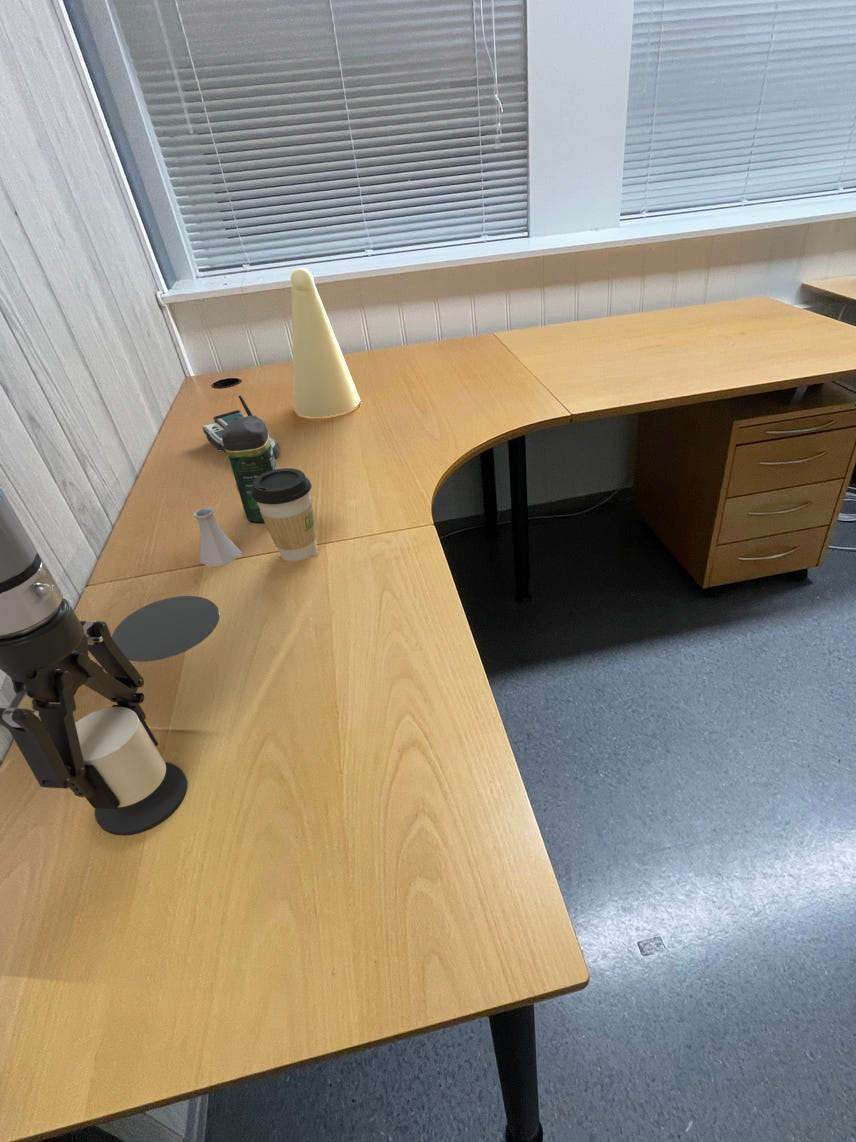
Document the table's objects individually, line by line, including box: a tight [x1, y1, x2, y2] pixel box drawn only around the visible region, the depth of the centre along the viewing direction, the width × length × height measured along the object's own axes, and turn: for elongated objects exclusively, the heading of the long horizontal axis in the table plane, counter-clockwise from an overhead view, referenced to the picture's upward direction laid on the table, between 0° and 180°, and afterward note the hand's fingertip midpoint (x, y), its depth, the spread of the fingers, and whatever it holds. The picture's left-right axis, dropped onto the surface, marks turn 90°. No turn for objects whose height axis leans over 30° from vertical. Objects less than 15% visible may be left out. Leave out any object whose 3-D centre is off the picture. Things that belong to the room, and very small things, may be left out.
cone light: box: [290, 267, 361, 417], centre depth 157 cm, size 25×18×35 cm
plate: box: [111, 595, 221, 662], centre depth 97 cm, size 16×16×1 cm
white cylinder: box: [75, 706, 166, 807], centre depth 68 cm, size 8×8×8 cm
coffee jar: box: [221, 415, 278, 524], centre depth 119 cm, size 10×8×19 cm
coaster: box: [94, 761, 188, 836], centre depth 73 cm, size 10×10×1 cm
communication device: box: [201, 394, 280, 459], centre depth 148 cm, size 12×24×9 cm, turn 39°
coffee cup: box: [251, 467, 318, 562], centre depth 107 cm, size 10×10×15 cm
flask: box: [193, 507, 244, 567], centre depth 109 cm, size 7×7×10 cm
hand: (127, 774), depth 70 cm, fingers closed on white cylinder, 8 cm apart
